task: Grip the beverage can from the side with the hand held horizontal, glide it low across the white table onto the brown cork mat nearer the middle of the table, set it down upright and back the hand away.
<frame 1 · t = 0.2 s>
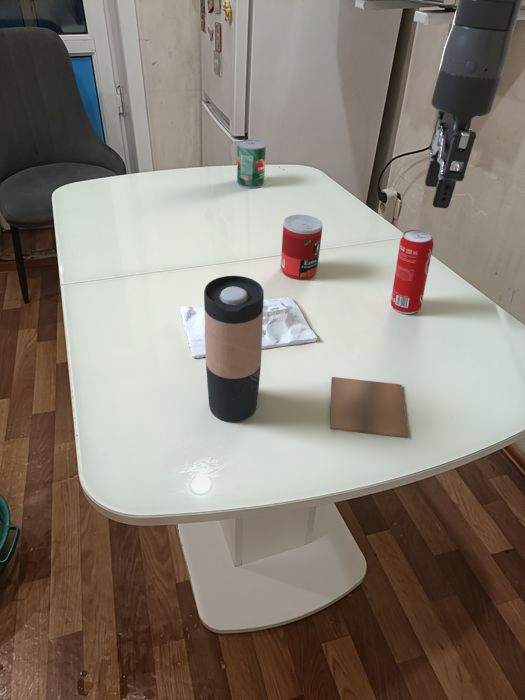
hand: (435, 195, 74), 26 cm above the table, tool pointing down, fingers open, 8 cm apart
cork mat: (367, 406, 77), on the table
canned food: (298, 271, 108), on the table
canned tomato: (250, 183, 147), on the table
terrain model: (246, 327, 92), on the table
beverage can: (402, 307, 99), on the table
travel mug: (233, 406, 76), on the table
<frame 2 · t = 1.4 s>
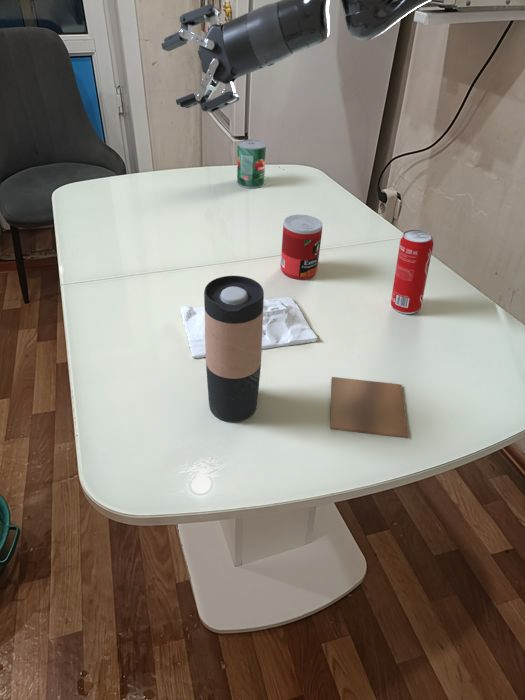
hand: (171, 76, 84), 36 cm above the table, tool tilted 65°, fingers open, 8 cm apart
nothing on the table moved.
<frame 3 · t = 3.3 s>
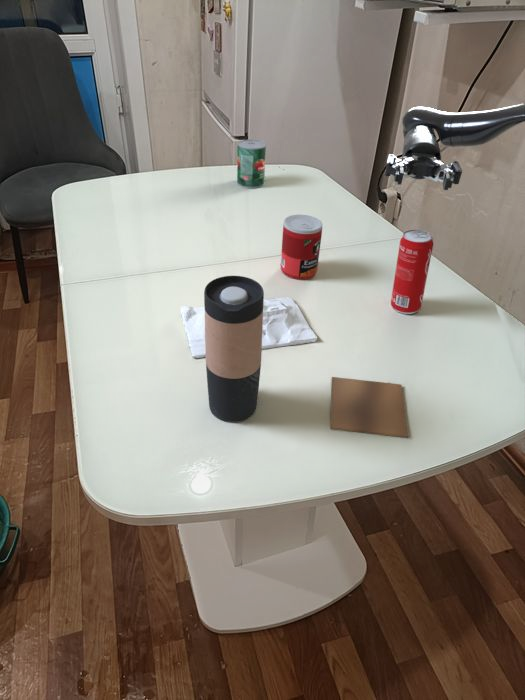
hand: (423, 182, 95), 21 cm above the table, tool horizontal, fingers open, 8 cm apart
nothing on the table moved.
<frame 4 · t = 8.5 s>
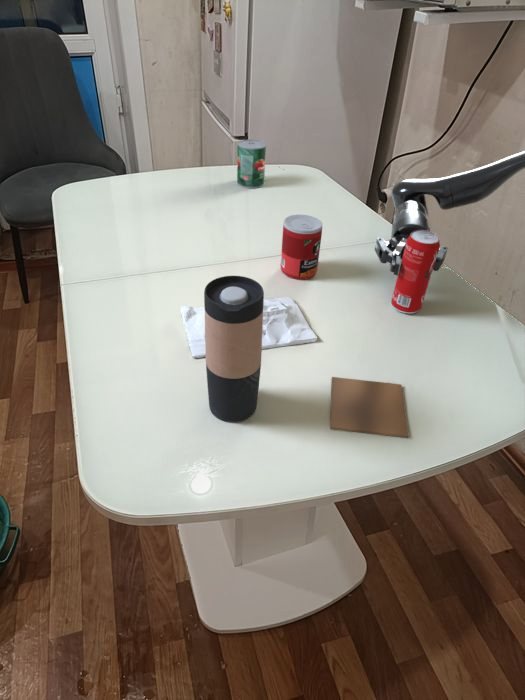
hand: (410, 272, 91), 9 cm above the table, tool horizontal, fingers closed on beverage can, 4 cm apart
beverage can: (403, 306, 99), on the table, touching gripper
everything else where it was.
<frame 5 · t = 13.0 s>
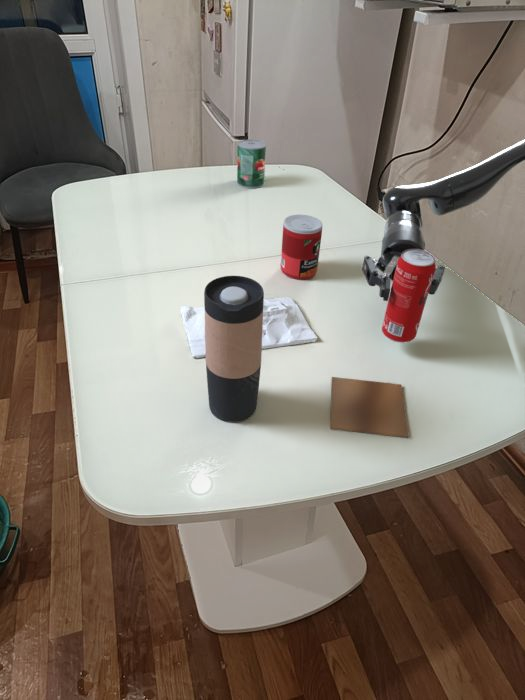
hand: (402, 298, 79), 12 cm above the table, tool horizontal, fingers closed on beverage can, 4 cm apart
beverage can: (395, 334, 87), point 3 cm above the table, touching gripper
everything else where it was.
when the fingers open (9 cm above the table, at t = 17.6 s): beverage can stays where it is, resting on cork mat.
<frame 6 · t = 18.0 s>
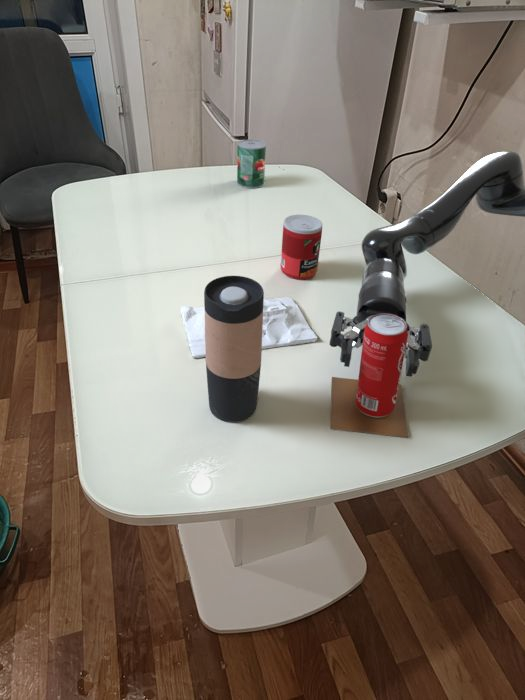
hand: (378, 366, 70), 9 cm above the table, tool horizontal, fingers open, 8 cm apart
beverage can: (371, 406, 77), resting on cork mat
everything else where it was.
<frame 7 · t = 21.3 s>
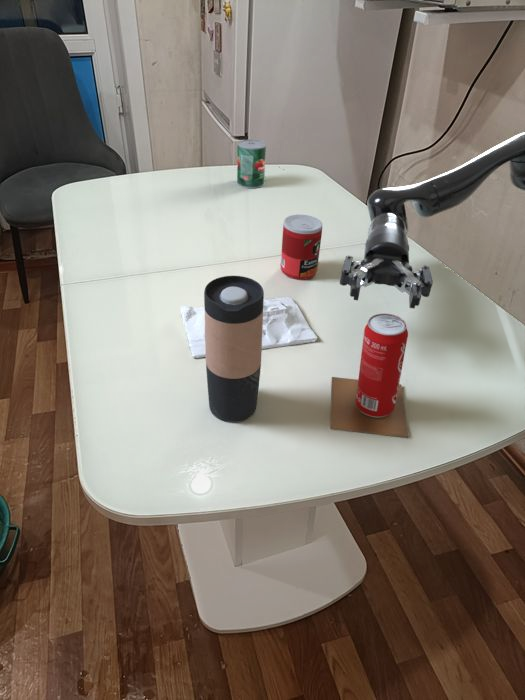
hand: (384, 299, 77), 12 cm above the table, tool horizontal, fingers open, 8 cm apart
nothing on the table moved.
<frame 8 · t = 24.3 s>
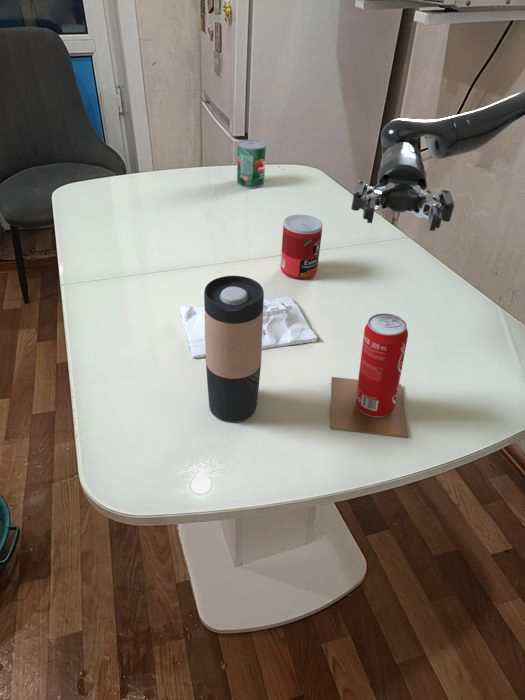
hand: (401, 220, 70), 25 cm above the table, tool horizontal, fingers open, 8 cm apart
nothing on the table moved.
at the end: beverage can inside the target area on the cork mat (0.6 cm from its centre), point 0.2 cm above the cork mat's base; beverage can tilted 0°; the gripper is holding nothing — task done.
